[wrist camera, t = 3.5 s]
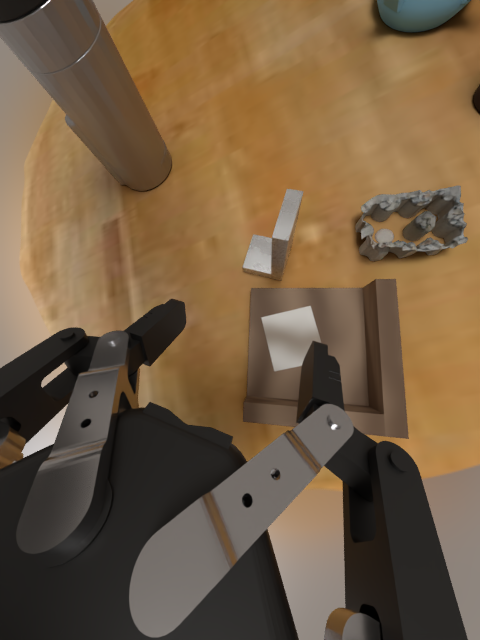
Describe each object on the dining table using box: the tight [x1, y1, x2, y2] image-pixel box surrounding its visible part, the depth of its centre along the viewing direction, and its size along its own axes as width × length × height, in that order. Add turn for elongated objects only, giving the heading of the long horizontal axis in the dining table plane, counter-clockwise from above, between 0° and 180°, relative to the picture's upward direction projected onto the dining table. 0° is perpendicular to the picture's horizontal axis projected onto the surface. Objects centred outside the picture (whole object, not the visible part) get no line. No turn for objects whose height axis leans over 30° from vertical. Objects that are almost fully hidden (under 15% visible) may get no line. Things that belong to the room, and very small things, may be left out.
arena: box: [243, 279, 409, 439], centre depth 23 cm, size 16×16×4 cm
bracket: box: [243, 189, 303, 281], centre depth 23 cm, size 6×5×10 cm
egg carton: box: [355, 186, 468, 261], centre depth 24 cm, size 11×8×4 cm
